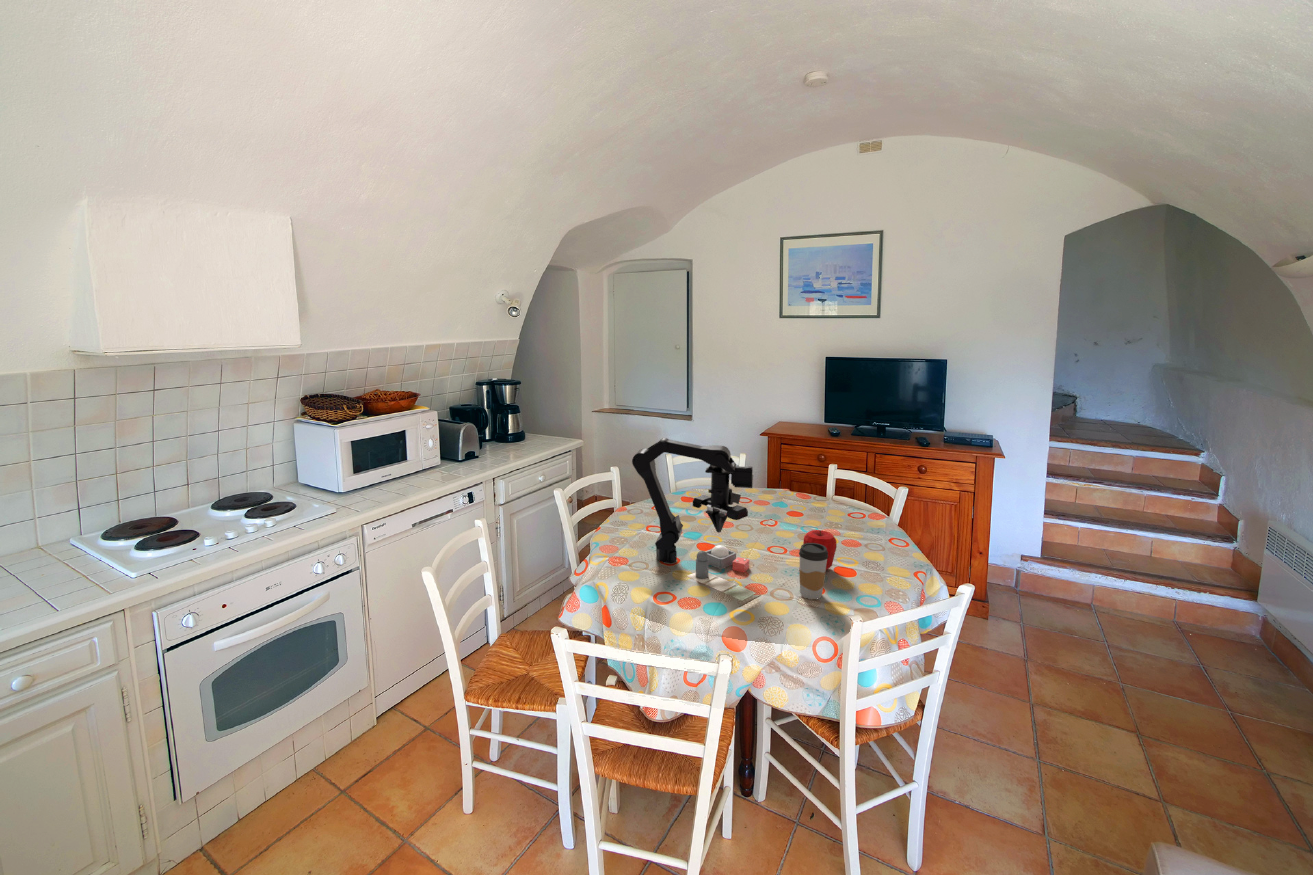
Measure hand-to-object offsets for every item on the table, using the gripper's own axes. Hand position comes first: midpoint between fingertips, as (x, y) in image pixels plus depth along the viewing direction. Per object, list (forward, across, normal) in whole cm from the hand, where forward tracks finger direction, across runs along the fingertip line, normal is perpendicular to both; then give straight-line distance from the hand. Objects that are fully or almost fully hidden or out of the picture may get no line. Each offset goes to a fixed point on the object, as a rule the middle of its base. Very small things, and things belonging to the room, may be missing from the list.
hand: (718, 532), depth 195 cm
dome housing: (+12, 0, -1) cm, 12 cm away
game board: (+12, -10, +11) cm, 19 cm away
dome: (+11, 0, -1) cm, 11 cm away
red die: (+12, -8, -2) cm, 14 cm away
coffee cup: (+12, -32, -5) cm, 34 cm away
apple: (+12, -24, -22) cm, 35 cm away
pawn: (+11, -3, +11) cm, 16 cm away
